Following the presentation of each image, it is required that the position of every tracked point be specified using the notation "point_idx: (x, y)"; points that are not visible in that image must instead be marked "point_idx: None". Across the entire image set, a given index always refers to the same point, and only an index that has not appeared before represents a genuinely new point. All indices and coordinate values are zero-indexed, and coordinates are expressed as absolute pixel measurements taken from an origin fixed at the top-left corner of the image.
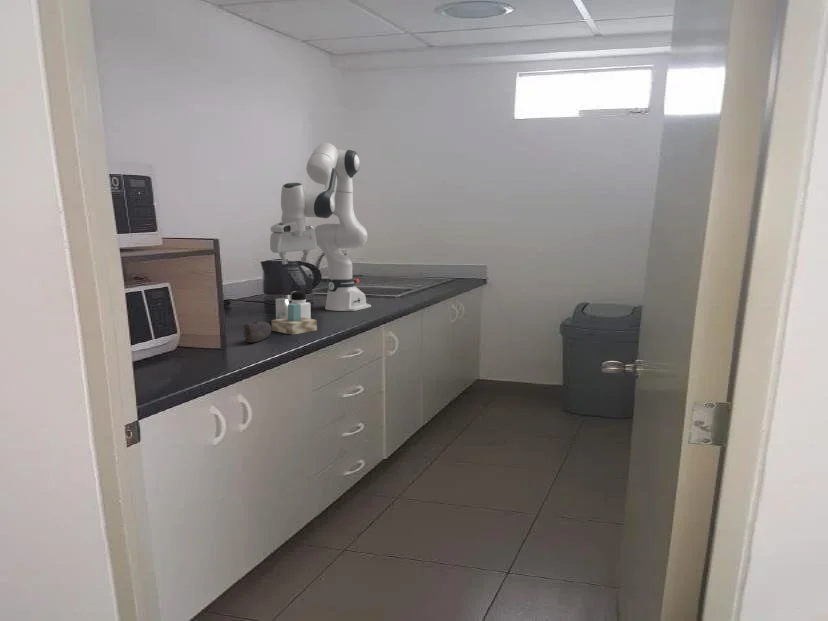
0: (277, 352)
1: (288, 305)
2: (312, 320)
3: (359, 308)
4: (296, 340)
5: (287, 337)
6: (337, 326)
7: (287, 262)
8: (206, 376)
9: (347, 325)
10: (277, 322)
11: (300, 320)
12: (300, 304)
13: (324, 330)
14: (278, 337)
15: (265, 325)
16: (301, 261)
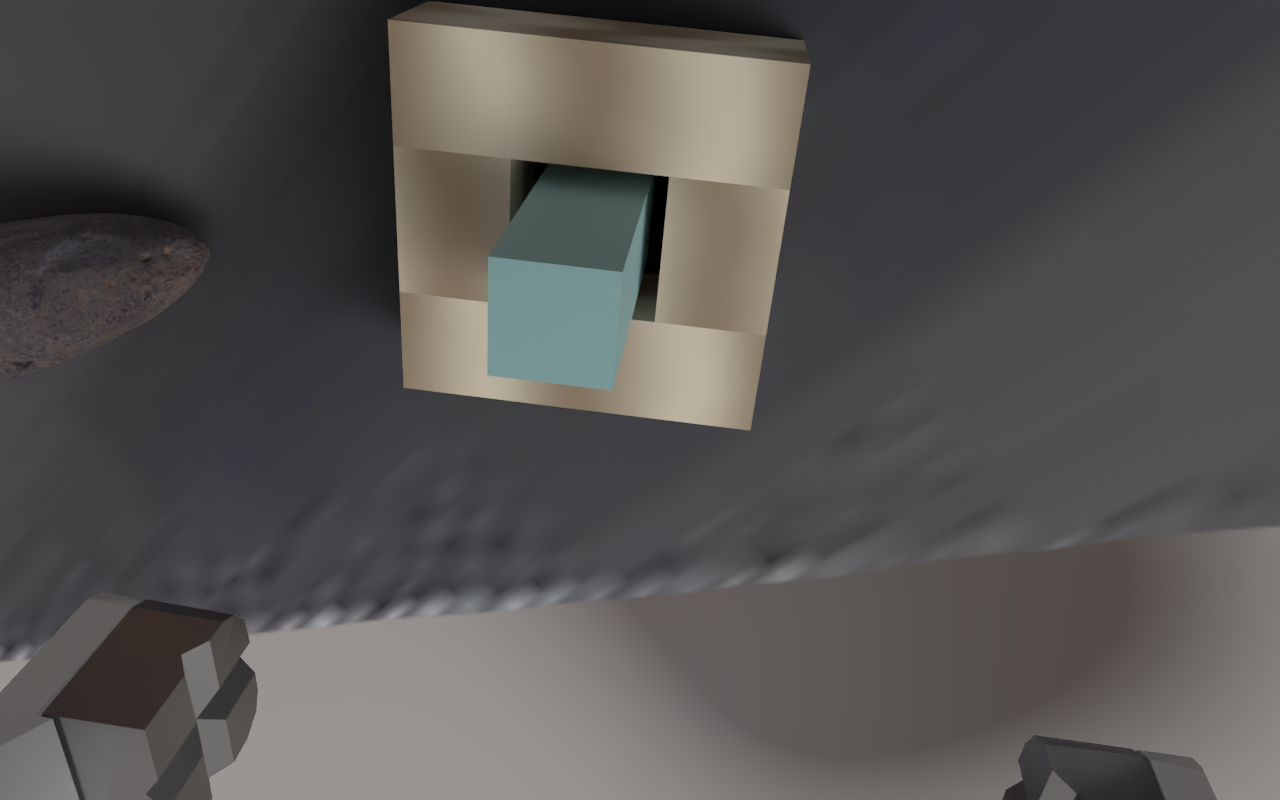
0: (4, 622)
1: (492, 268)
2: (690, 419)
3: None
4: (314, 502)
5: (332, 375)
6: (1036, 413)
7: (210, 754)
8: None
9: (1138, 458)
10: (397, 139)
11: None
12: (612, 390)
13: (783, 435)
14: (272, 314)
15: (38, 368)
16: (1038, 740)
